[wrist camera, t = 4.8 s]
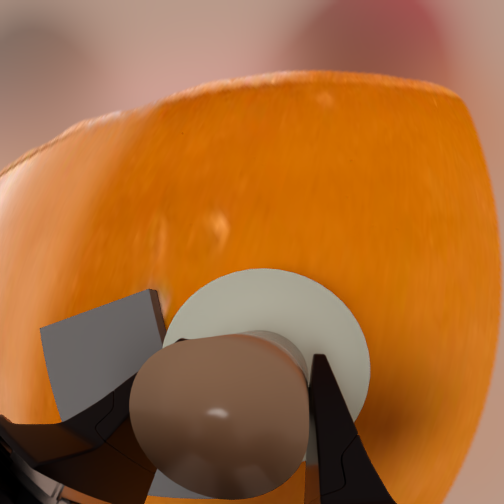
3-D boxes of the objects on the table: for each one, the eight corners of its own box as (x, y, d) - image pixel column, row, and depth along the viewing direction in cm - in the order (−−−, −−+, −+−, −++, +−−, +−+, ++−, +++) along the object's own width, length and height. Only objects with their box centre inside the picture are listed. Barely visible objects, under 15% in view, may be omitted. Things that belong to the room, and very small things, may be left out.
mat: (224, 491, 13) (220, 498, 12) (95, 480, 15) (89, 483, 14) (156, 290, 18) (148, 288, 17) (47, 329, 20) (39, 328, 19)
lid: (401, 389, 11) (480, 443, 3) (238, 482, 11) (187, 567, 4) (287, 233, 14) (263, 142, 7) (139, 339, 14) (31, 339, 7)
